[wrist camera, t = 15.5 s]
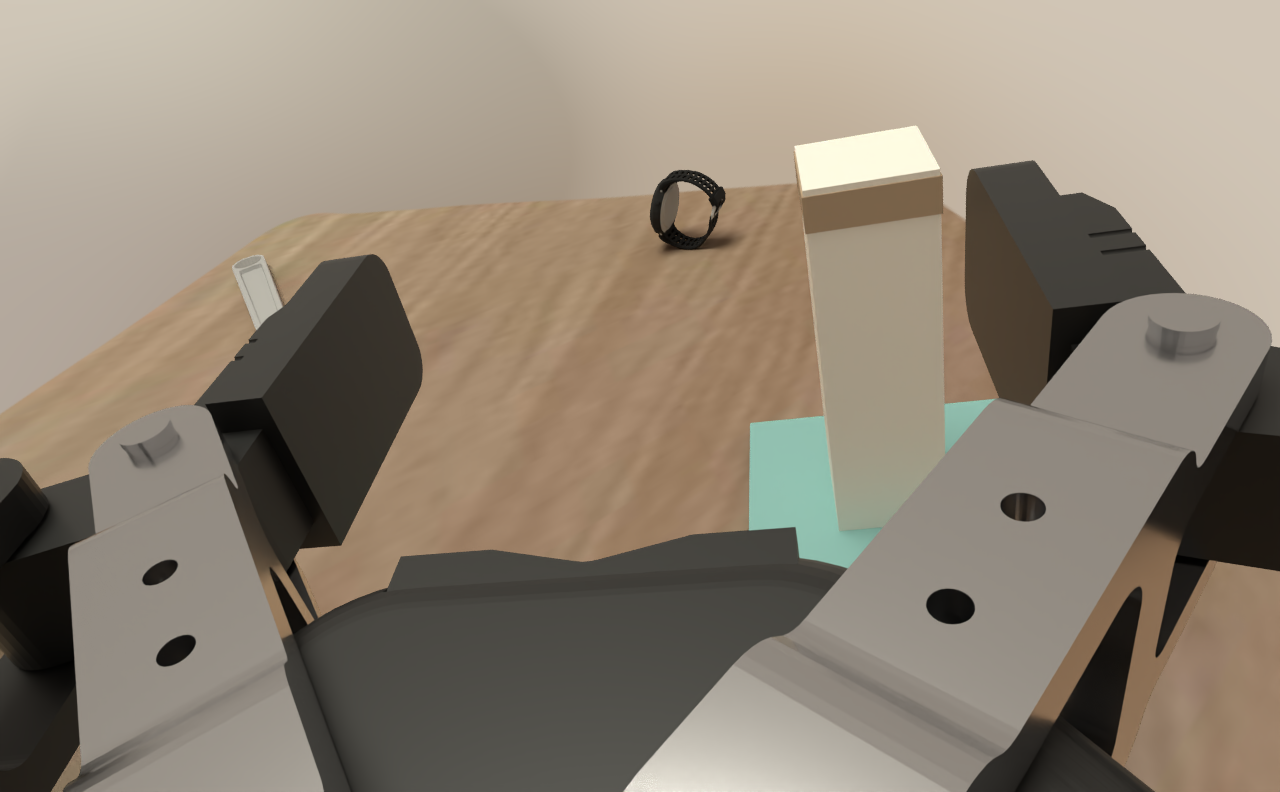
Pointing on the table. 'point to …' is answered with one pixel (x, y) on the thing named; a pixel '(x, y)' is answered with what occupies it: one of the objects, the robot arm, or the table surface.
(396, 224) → the table surface
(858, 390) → the post
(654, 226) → the smartwatch
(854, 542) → the mat
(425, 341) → the table surface
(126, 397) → the table surface
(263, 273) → the adjustable wrench
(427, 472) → the table surface
